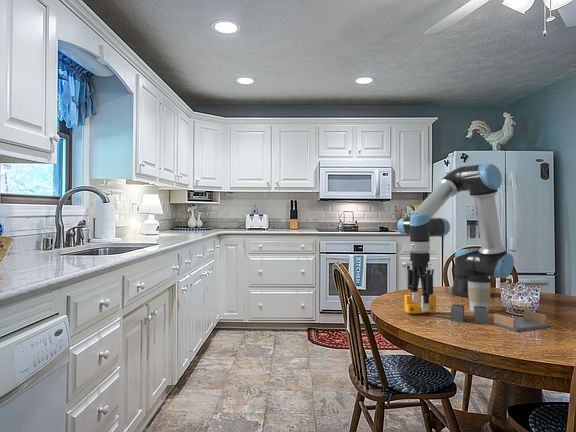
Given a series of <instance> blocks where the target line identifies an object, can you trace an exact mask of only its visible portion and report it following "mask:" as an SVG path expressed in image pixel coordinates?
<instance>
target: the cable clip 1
mask: <svg viewBox="0 0 576 432" xmlns="http://www.w3.org/2000/svg"><path fill="white" fill-rule="evenodd" d="M450 309H451V310H450V321H451V322H458V323H463V322H464V321H465V305H463V304H455V303H453V304H451V305H450Z"/></svg>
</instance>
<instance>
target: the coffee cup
mask: <svg viewBox="0 0 576 432" xmlns="http://www.w3.org/2000/svg"><path fill="white" fill-rule="evenodd" d="M467 280H468V296H469V297H468V303H469V311H471V312H473V313H474V306H482V307H486V308H487V313H489V308H490V300H491V289H492V288H491V284H492V283H491V282H492V279H491V277H488V276H485V275H483V274H475V275H470V277H468V278H467Z"/></svg>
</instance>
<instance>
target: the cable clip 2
mask: <svg viewBox="0 0 576 432" xmlns="http://www.w3.org/2000/svg"><path fill="white" fill-rule="evenodd" d="M473 313H474V314H473V321H474V323H475V324H480V325H481V324H485V325H488V312H487V308H486V307H482V306H474V312H473Z"/></svg>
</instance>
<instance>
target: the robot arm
mask: <svg viewBox="0 0 576 432" xmlns="http://www.w3.org/2000/svg"><path fill="white" fill-rule="evenodd" d="M502 181H503V176H502V172H501V171H500V168H499V167H498V166H496V165H495V164H493V163H479V164H475V165H472V164H471V165H467V166H466V165H465V166H459V167H457V168H454V169H453V170H451V171H450V172H449V173H447V174H446V175H445V176H443V178H442V179H440V180H439V182H438V183H437V187H435V188H434V190H433V191H432V192H431V193H430V194H429V195H428V196H427V197H426V198H425V199H424V200H423V201H422V202H421V203H420V204H419V205H418V206H417V207H416V209H414V210H413V212H411V214H410V215H409V216H408V217H401V218H400V219H398V221H397V223H396V228H397V231H398V233H399V234H401V235H407V236H410V237H409V238H410V239H409V245H410V246H409V251H410V253H409V260H410V262H411V265H407V266H406V269H407V289H408V290H410V292H411V296H412V300H413V302H414V303H415V304H420V298H421V304H422V312H424V313H427V312H426V311H428V303H429V295H431V294H433V295H434V272H435V270H434V269H433V268H430V267H429V263H430V261H431V258H430V257H431V253H430V250H431V247H430V245H431V242H430V237H443V236H447V235H448V234H449V233H450V230H451V224H450V222H449V221H448V220H447V219H446V218H442V217H437V218H435V217H434V215H435V214H436V213H437V212H438V211H439V210H440V209H441V208H442V206H443V205H444V204H445V203H446V202H447V201H448V200H449V199H450V198H451V197H455V195H457V194H458V193H459V192H468V191H469V196H470V197H472V198H473V199H474V207H475V212H476V219H477V227H478V233H479V239H480V248H467V249H462V248H461V249H457V250H455V253H454V254H455V255H454V280H453V284H452V287H451V288H450V289H451V290H450V292H451V295H455V296H459V297H464V298H465V297H466V298H469V296H468V280H467V278H468V277H470V275H475V274H483V275H485V276H488V277H489V278H495V279H506V278H507V277H509V276H510V275H511V273H513V272H512V271H513V269H514V266H515V265H514V263H515V260H514V256H513V255H512V254H510V253H508V252H507V247H505V246H504V245H503V243H502V236H501V231H500V222H499V217H498V209H497V203H496V194H498V190H499V188H501V186H502ZM432 217H433V218H432ZM419 282H420V283H419ZM419 284H421V290H422V293H421V297H420V292H419V291H420V290H419V289H418V288H419Z"/></svg>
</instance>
